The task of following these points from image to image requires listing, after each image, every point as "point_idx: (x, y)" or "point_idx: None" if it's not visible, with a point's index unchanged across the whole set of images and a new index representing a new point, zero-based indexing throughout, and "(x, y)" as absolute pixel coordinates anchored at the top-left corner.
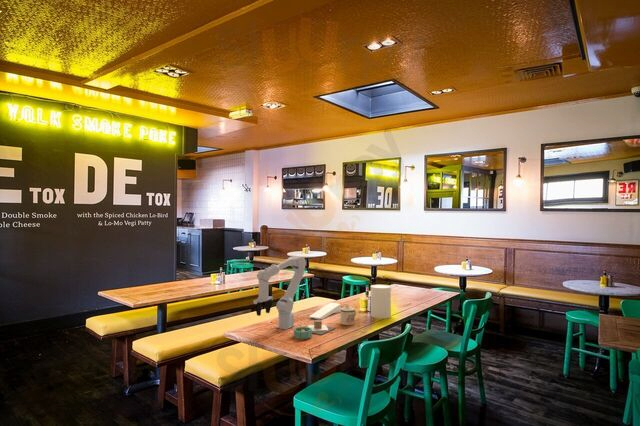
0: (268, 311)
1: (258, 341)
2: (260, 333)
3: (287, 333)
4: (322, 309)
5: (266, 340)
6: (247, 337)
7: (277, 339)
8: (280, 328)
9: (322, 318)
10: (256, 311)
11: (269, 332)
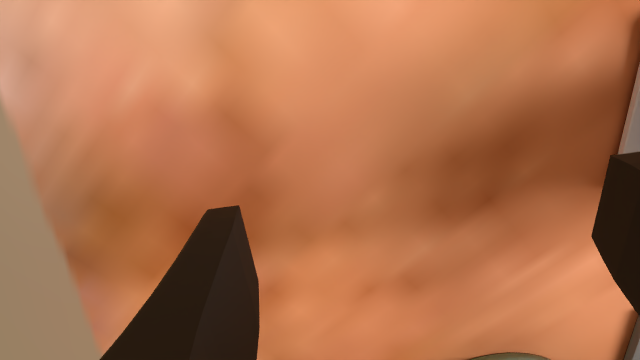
0: (617, 269)
1: (82, 271)
2: (285, 62)
3: (495, 282)
4: None
5: None
6: (23, 70)
7: (279, 338)
8: (627, 114)
9: None
10: (161, 298)
11: (404, 120)
